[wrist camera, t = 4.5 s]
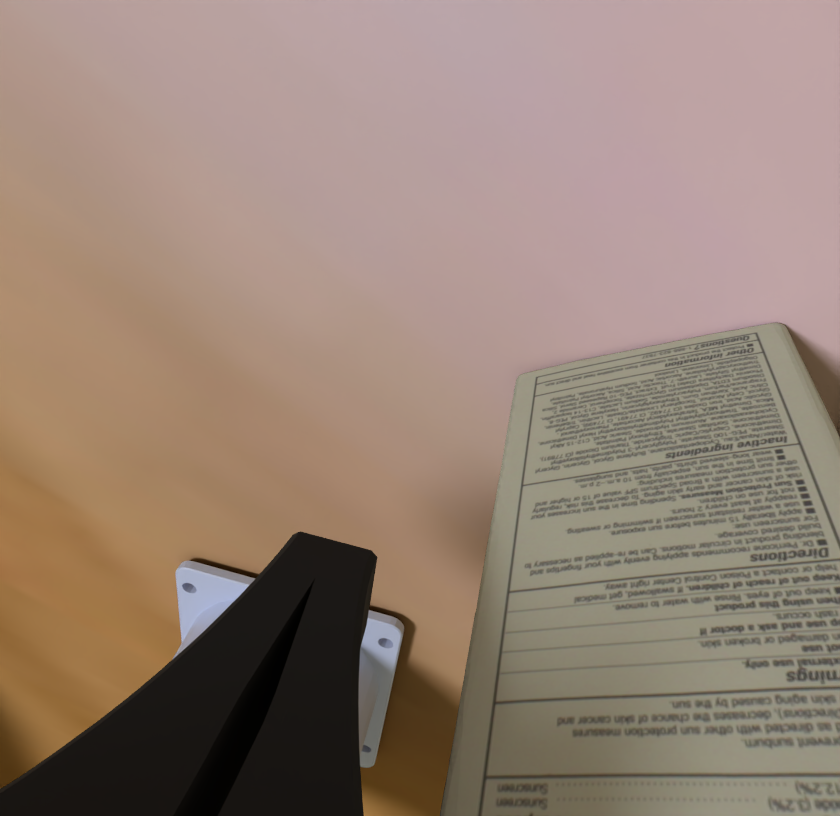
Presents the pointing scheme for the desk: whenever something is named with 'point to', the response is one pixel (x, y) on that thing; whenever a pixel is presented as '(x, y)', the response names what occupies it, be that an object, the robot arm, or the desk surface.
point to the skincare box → (659, 592)
